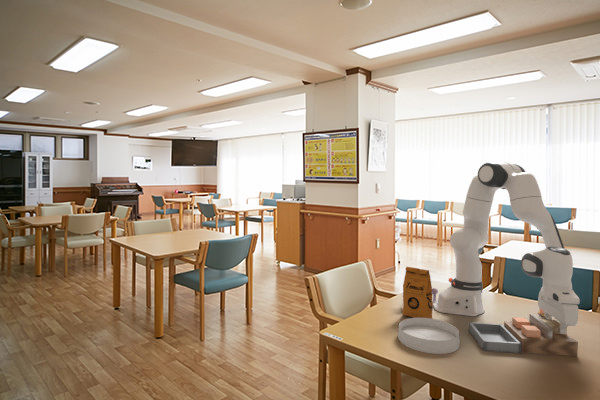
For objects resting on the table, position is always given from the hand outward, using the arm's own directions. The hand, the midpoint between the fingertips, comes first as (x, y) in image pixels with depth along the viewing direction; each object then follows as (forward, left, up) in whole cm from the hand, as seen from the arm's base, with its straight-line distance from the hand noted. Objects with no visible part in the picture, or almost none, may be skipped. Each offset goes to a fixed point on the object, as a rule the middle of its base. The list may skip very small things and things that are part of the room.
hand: (555, 328), depth 137 cm
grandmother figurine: (+11, +33, -7) cm, 36 cm away
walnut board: (-6, 0, -6) cm, 8 cm away
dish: (-46, -3, -7) cm, 46 cm away
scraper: (-1, 0, -1) cm, 2 cm away
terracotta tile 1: (-10, -4, -1) cm, 11 cm away
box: (-21, 0, -6) cm, 22 cm away
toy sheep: (-43, +40, -7) cm, 59 cm away
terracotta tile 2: (-10, +4, -1) cm, 11 cm away
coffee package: (-46, +21, -7) cm, 51 cm away
